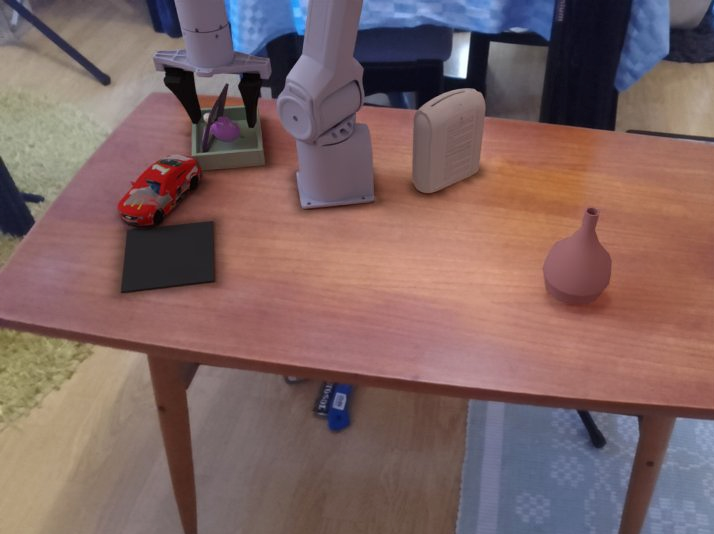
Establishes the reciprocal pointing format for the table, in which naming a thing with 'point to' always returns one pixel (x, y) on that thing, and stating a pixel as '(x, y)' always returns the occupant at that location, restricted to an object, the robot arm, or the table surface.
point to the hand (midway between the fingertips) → (225, 122)
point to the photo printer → (447, 139)
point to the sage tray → (229, 143)
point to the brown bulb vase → (578, 265)
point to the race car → (159, 190)
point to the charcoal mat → (168, 256)
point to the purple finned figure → (220, 124)
